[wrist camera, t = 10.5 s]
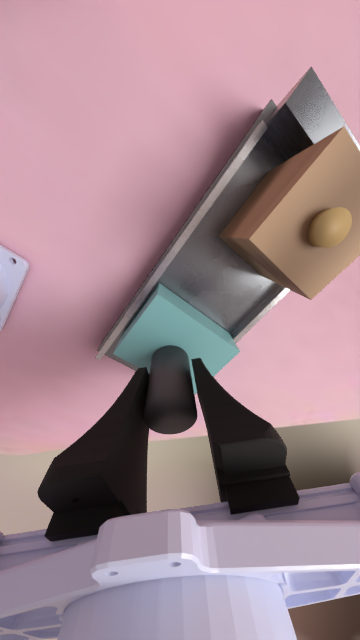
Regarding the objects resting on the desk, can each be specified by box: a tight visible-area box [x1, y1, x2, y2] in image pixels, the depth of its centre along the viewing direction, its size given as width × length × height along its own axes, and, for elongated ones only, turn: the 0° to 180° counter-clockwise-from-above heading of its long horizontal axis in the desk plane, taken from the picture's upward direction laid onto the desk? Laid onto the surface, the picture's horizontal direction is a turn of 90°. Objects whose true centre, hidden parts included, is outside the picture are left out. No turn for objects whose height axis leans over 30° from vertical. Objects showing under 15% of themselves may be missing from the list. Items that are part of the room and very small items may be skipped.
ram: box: [113, 283, 240, 434], centre depth 14 cm, size 8×6×8 cm
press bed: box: [95, 67, 360, 371], centre depth 15 cm, size 10×22×4 cm, turn 142°
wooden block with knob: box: [219, 126, 360, 300], centre depth 11 cm, size 5×5×6 cm
